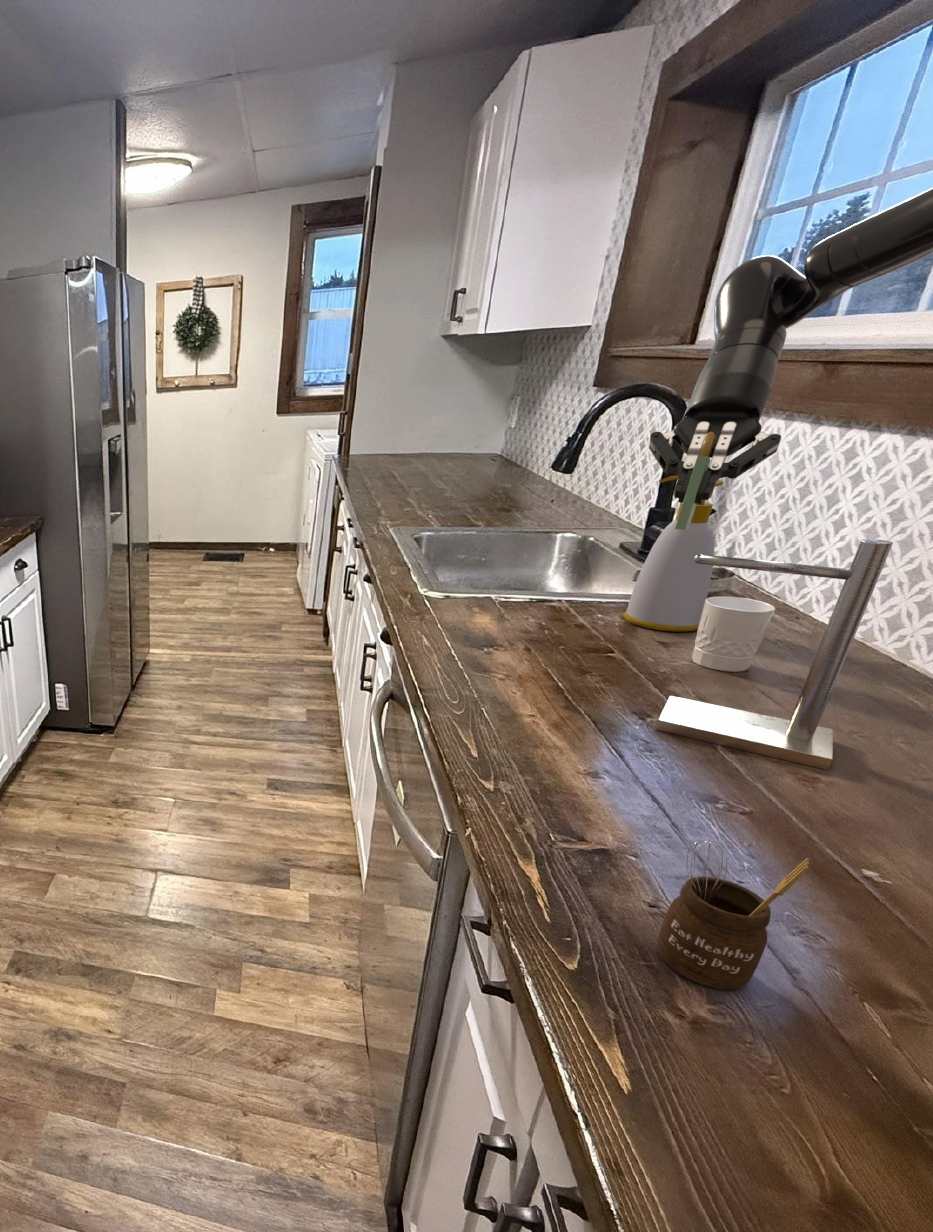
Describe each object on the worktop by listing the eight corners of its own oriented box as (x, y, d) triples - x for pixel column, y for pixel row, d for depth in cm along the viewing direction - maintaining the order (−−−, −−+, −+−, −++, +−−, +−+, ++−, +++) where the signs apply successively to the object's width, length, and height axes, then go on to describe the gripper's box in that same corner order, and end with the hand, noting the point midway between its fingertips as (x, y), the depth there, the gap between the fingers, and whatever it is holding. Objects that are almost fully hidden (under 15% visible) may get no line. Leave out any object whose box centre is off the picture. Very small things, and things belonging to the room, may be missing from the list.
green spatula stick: (674, 528, 91) (705, 431, 88) (678, 529, 95) (707, 435, 92) (684, 529, 90) (716, 431, 87) (688, 529, 95) (718, 436, 91)
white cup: (758, 677, 108) (781, 614, 104) (690, 668, 112) (710, 607, 108) (747, 659, 114) (768, 600, 110) (683, 651, 118) (701, 593, 114)
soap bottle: (636, 609, 138) (675, 470, 128) (712, 624, 129) (761, 475, 119) (608, 621, 133) (647, 477, 123) (685, 637, 124) (734, 483, 114)
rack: (639, 726, 96) (698, 534, 86) (652, 701, 102) (708, 520, 92) (828, 770, 84) (921, 553, 74) (829, 739, 90) (915, 536, 81)
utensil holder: (660, 927, 63) (702, 812, 58) (758, 966, 58) (811, 844, 54) (646, 964, 59) (689, 844, 54) (750, 1008, 55) (806, 882, 50)
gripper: (667, 372, 96) (625, 477, 93) (810, 368, 87) (769, 485, 84) (662, 411, 101) (622, 512, 98) (796, 411, 92) (757, 522, 89)
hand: (690, 499), depth 91 cm, fingers closed on green spatula stick, 1 cm apart
